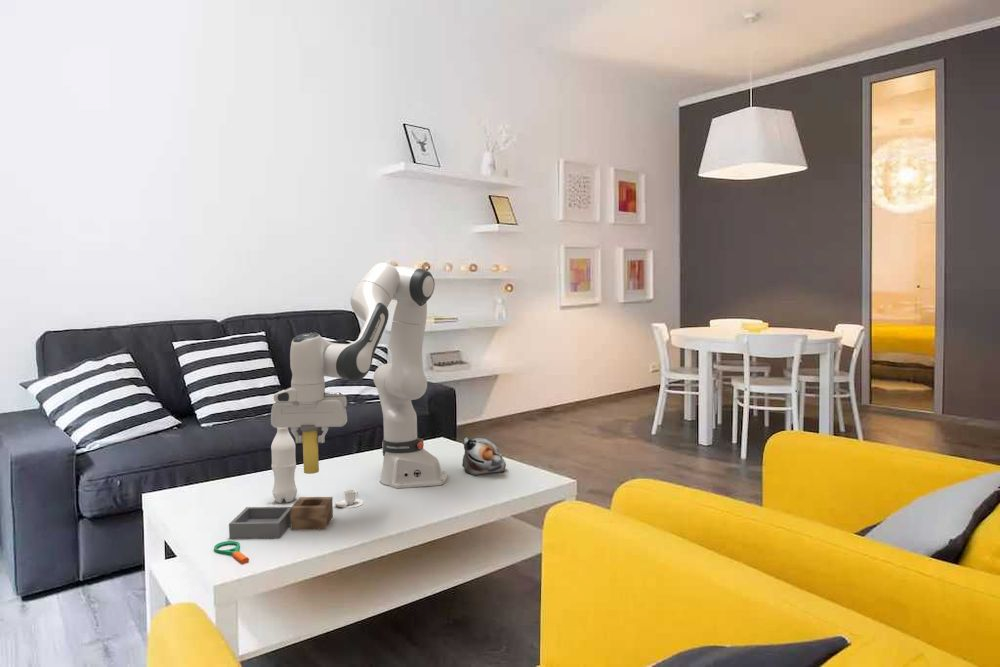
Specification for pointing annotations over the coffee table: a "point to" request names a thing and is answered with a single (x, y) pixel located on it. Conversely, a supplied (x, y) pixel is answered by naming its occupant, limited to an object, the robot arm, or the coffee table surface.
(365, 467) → the coffee table surface
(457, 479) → the coffee table surface
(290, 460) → the water bottle
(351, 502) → the teacup and saucer
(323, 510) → the holder
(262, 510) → the tray
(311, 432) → the peg
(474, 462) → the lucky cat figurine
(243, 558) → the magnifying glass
